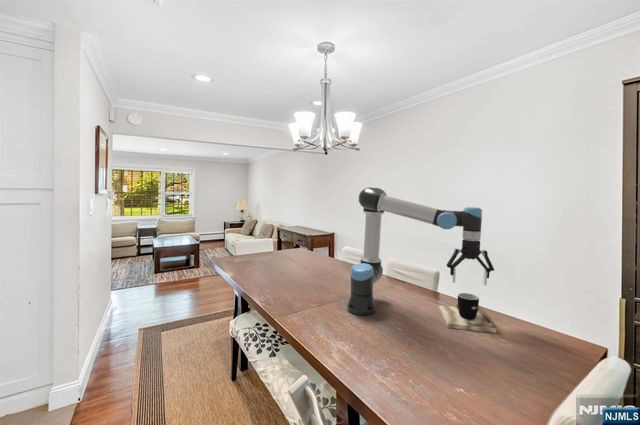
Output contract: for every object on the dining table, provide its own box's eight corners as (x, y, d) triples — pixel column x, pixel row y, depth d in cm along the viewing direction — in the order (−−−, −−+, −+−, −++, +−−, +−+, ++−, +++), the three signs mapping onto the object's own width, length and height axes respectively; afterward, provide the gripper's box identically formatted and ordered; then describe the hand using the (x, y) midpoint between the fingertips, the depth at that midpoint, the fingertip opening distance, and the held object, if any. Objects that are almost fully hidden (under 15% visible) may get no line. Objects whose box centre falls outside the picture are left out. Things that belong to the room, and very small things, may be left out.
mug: (471, 322, 125) (472, 301, 124) (453, 315, 132) (453, 295, 132) (485, 316, 131) (486, 296, 131) (466, 309, 139) (467, 290, 138)
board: (447, 327, 124) (447, 320, 124) (438, 309, 145) (438, 302, 145) (496, 332, 120) (496, 325, 119) (480, 313, 140) (480, 306, 140)
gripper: (444, 239, 129) (442, 283, 130) (504, 242, 123) (501, 288, 124) (441, 237, 136) (439, 278, 137) (497, 239, 130) (494, 283, 132)
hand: (468, 283), depth 131 cm, fingers open, 13 cm apart
